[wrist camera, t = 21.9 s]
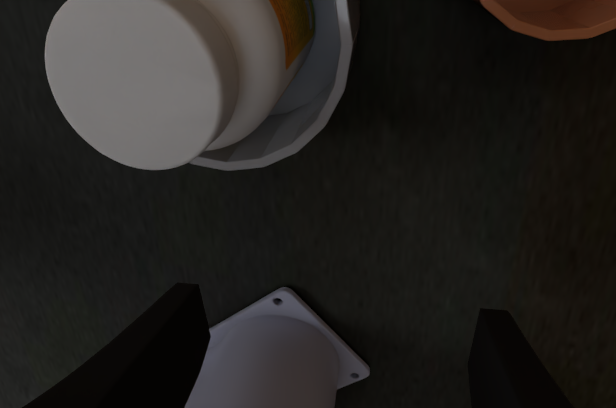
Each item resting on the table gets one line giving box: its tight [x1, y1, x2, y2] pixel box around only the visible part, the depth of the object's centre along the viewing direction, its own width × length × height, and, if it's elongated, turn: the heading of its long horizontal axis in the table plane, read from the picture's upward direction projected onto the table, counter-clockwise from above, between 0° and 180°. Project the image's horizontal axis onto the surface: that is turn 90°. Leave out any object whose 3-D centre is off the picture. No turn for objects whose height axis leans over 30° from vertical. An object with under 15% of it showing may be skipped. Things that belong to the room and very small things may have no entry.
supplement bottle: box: [45, 0, 316, 170], centre depth 14 cm, size 5×5×10 cm
